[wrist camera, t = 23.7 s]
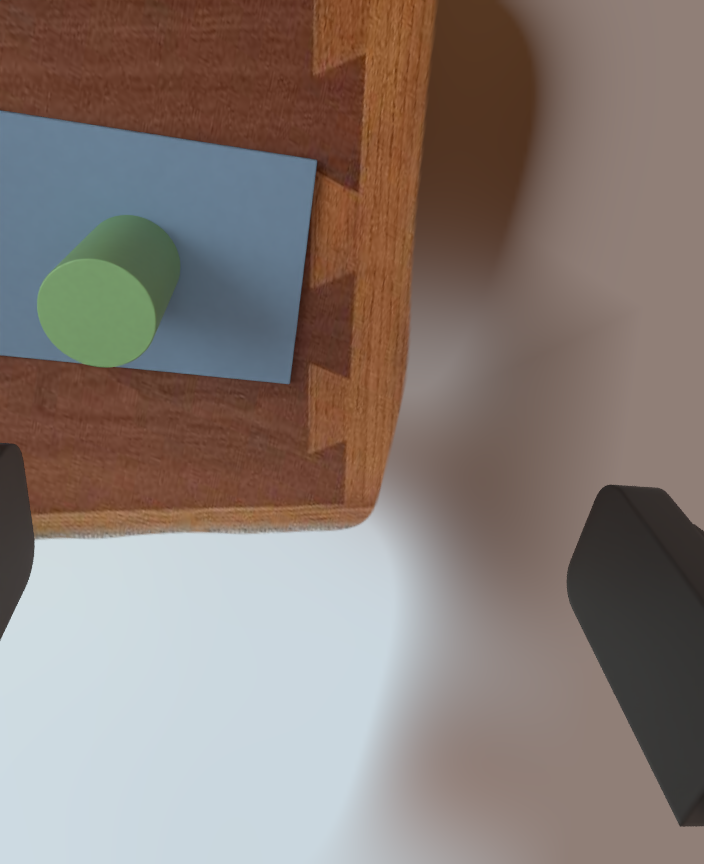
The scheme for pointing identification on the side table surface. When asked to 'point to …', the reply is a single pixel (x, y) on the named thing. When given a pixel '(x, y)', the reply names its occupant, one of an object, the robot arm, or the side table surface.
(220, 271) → the blue mat
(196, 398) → the side table surface
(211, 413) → the side table surface
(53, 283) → the green canister
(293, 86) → the side table surface
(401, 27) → the side table surface
